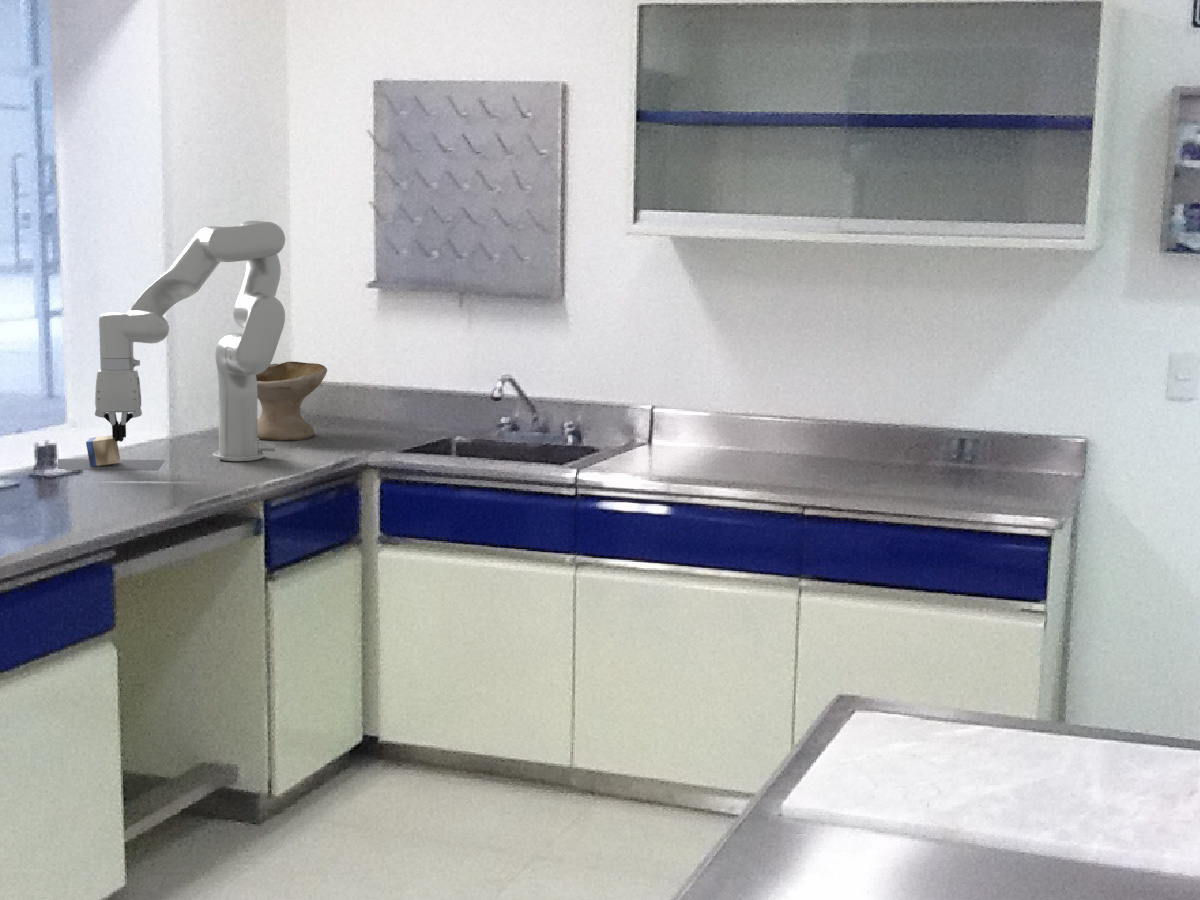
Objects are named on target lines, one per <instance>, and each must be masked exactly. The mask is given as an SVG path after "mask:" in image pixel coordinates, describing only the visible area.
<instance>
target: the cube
mask: <svg viewBox="0 0 1200 900" xmlns="http://www.w3.org/2000/svg"><path fill="white" fill-rule="evenodd" d="M118 444H119V443H118V442H115V438H114V437H112V435H105V436H96V437H90V438H89V439H87V441H86V442H85V445H86V451H87V457H88V459H89V462H90V467H92V466H100V465H107V464H115V463H117V462H118V461H119V460H121V456H120V451H119V445H118Z"/></svg>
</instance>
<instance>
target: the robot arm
mask: <svg viewBox="0 0 1200 900" xmlns="http://www.w3.org/2000/svg"><path fill="white" fill-rule="evenodd" d="M285 243H286V236H285V232H284V230H283V229H282V228H281V227H280V226H279V225H278V224H276V223H274V222H272V221H265V220H263V221H261V220H247V221H244V222H242V223H240V224H239V225H237V226H219V225H218V226H215V225H213V226H212V225H210V226H204V227H203V228H201V229H200V230H198V232H196V234H195V235H194V236H193V238H192V239H191V241H189V243H188V244H187V245H186V247H185V248H184V249H183V251H182V252H181V253H180V254H179V256H178V257H177V258H176V259H175V261H173V263H172V264H171V266H170V267H169V268H168V269H167V271H166V272H164V273H163V274H161V275H160V277H158V278H157V279H156V280H155V281H154V282H153V283H152V284H150V285H149V286H148V287H147V288H146V289H145V290H144V291H143V292H142V293H141V294H140V295H139V297H138V298H137V299H136V300H135V302H134V303H133V305H131V307H130V308H129V310H128V311H127V312H105V313H101V314H100V316H99V317H98V328H99V330H98V333H99V357H100V358H99V359H100V361H99V362H100V363H99V364H100V366H99V367H100V369H98V370H97V373H96V378H95V379H96V380H95V394H94V395H95V398H94V399H95V400H94V405H95V412H94V415H95V417H98V418H102V419H103V418H104V419H105V420H107V422H108V423H110V425H111V433H112V437H114V438H115V442H117V443H118V442H119V443H120V442H123V441H124V438H125V439H126V437H127V423H128V422H130V420H131V419H133V418H138V417H139V418H140V417H141V416H143V412H142V409H141V408H142V392H141V382H140V376H139V372H138V369H135V368H136V367H137V366H138V367H139V366H141V359H138V360H137V359H136V358H135V356H134V343H143V344H150V345H151V344H152V345H153V344H158V343H160V342H162V341H163V340H165V339H166V338H167V337H168V335H169V331H170V325H169V322H168V321H167V319H166V318H165V317H164V315H165V314H166V313H167V311H169V310H170V309H171V308H172V307H173V306H174V305H176V304H178V303H179V302H181V301H183V300H185V299H187V298H190V297H192V296H194V295H195V294H196V293H198V292H199V291H200V289H201V288H202V287H203V285H204V284H205V282H206V281H207V280H208V279H209V277H210V276H211V275H212V273H213V272H214V271H215V269H216V268H217V267H219V264H220V263H235V262H242V261H245V263H246V264H245V266H246V268H245V275H244V277H243V282H242V285H241V287H240V291H239V294H238V295H237V299H236V301H235V304H234V308H233V313H232V314H233V319H234V322H235V323H236V324H237V325H238V326H239V327H241V328H242V329H243V331H242V333H239V332H238V333H237V332H232V333H229V334H227V335H225V336H223V337H222V338H220V340H219V341H218V343H217V345H216V348H215V364H216V370H217V380H218V382H217V383H218V450H216V451H214V452H212V457H213V459H217V460H218V459H219V460H220V461H226V462H251V461H258V460H262V459H263V458H264V456H265V455H264V452H276V444H275V443H268V442H267V443H263V442H260V439H259V438H257V420H258V398H257V397H258V389H257V379H256V375H257V374H260V373H262V372H264V371H265V370H266V369H267V368H268V367H269V365H270V364H272V361H273V359H274V356H275V353H276V350H277V347H278V345H279V341H280V339H281V335H282V333H283V330H284V328H285V327H284V326H285V322H286V311H285V307H284V305H283V303H282V302H281V301H280V300H279V299H278V298H276V295H277V292H278V288H279V284H280V279H281V273H282V271H281V270H282V269H281V262H280V259H279V258H280V257H279V256H278V254H279V253H281V251H282V250H283V249H284V247H285ZM116 413H121V417H120V421H118V419H117V414H116Z"/></svg>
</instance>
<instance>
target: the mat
mask: <svg viewBox="0 0 1200 900" xmlns="http://www.w3.org/2000/svg"><path fill="white" fill-rule="evenodd" d="M57 459H58V469H65V470H66V471H67V470H68V471H70V470H71V471H75V470H76V471H78V470H80V471H159V470H160V468H161V467H162V465H164V463H165V461H166V460H165V459H120V460H119V461H118V462H117V463H115V464H107V465H100V466H92V467H90V462H89V458H87V459H86V458H84V459H83V458H57ZM65 470H64V471H65Z"/></svg>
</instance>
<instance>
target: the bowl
mask: <svg viewBox="0 0 1200 900" xmlns="http://www.w3.org/2000/svg"><path fill="white" fill-rule="evenodd" d="M327 373H328V368H327V367H326V366H325V365H323V364H320V363H314V362H312V363H311V362H300V361H285V362H280V363H270V365H269V367H268V368H267V369H266V370H265V371H264V372H262V373H260V374H257V375H256V379H257V389H258V397H257V400H259V402H260V405H261V413H260V417H259V418H257V438H259V440H266V441H284V442H285V441H288V442H293V441H295V442H296V441H301V440H307V439H311V438H312V437H315V430H314V428H313V426H311V425H310V424H309V423H308V422H306V420H305V419H304V418H303V416H302V415H301V406H302V403H303V401H304V400H305V398H306V397H308V396H309V395H310V394H311V393H312V392H315V390H316V389H317V388H318V387H319V386H320V385H321V383H322V382H323V380H324V379H325V377H326V375H327Z"/></svg>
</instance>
